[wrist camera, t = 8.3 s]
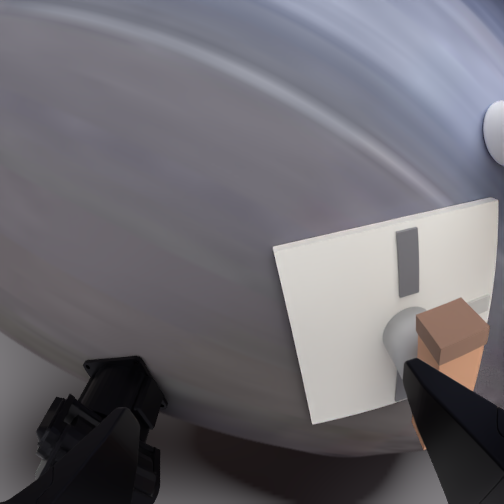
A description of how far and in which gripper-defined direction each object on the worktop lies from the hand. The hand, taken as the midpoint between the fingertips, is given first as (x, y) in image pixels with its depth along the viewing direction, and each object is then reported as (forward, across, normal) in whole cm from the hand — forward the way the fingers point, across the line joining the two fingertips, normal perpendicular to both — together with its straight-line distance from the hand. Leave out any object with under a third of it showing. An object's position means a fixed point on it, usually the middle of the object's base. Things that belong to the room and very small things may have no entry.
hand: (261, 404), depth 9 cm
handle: (+8, -10, +9) cm, 15 cm away
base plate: (+13, -10, +9) cm, 19 cm away
